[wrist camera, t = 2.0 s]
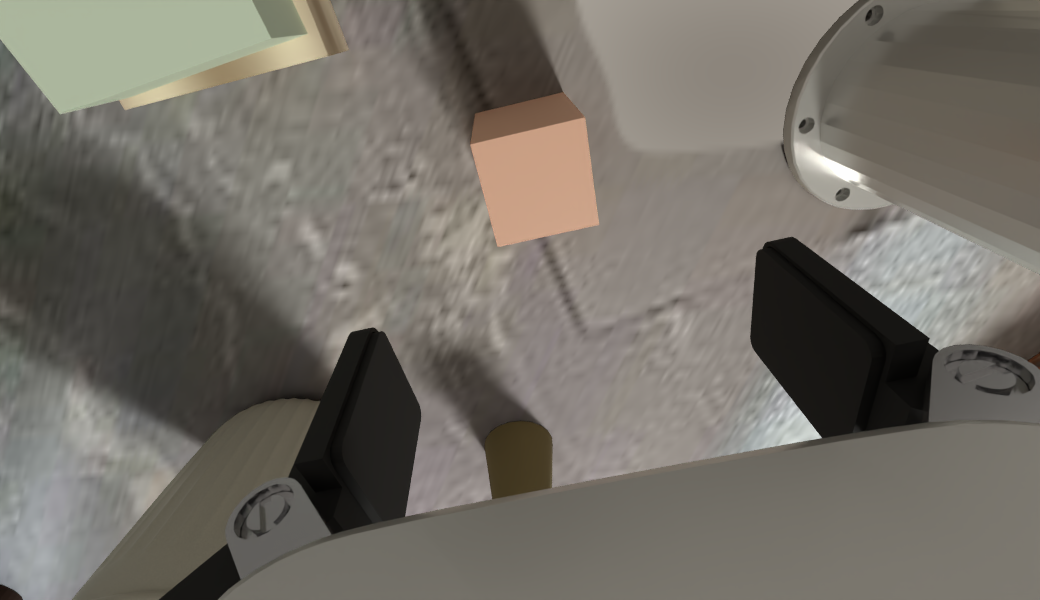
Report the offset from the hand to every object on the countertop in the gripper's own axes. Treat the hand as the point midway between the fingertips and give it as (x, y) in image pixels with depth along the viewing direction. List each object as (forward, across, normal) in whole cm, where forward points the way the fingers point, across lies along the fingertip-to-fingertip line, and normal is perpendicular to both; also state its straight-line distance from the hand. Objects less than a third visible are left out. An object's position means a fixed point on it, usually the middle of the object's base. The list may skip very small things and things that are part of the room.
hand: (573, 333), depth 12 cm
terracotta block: (+18, 0, 0) cm, 18 cm away
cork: (+18, +6, +25) cm, 31 cm away
